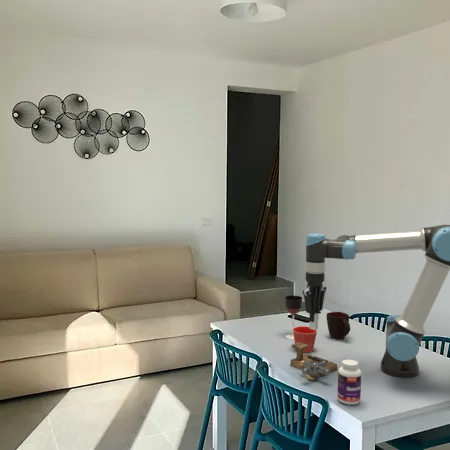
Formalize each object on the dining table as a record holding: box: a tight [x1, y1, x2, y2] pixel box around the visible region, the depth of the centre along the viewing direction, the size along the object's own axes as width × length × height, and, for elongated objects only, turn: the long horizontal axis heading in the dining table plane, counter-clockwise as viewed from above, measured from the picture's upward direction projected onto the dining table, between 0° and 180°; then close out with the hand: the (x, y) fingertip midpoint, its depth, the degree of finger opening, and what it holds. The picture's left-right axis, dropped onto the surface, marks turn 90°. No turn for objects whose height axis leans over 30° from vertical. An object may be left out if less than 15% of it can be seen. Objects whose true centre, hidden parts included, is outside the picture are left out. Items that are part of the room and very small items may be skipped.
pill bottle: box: [336, 359, 362, 406], centre depth 182 cm, size 8×8×14 cm
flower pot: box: [293, 325, 318, 354], centre depth 235 cm, size 11×11×10 cm
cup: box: [326, 311, 351, 341], centre depth 250 cm, size 10×14×12 cm
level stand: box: [290, 342, 338, 377], centre depth 214 cm, size 16×11×9 cm
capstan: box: [300, 360, 331, 381], centre depth 201 cm, size 14×14×6 cm
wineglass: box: [284, 295, 303, 340], centre depth 253 cm, size 8×9×20 cm
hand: (313, 328), depth 207 cm, fingers closed
